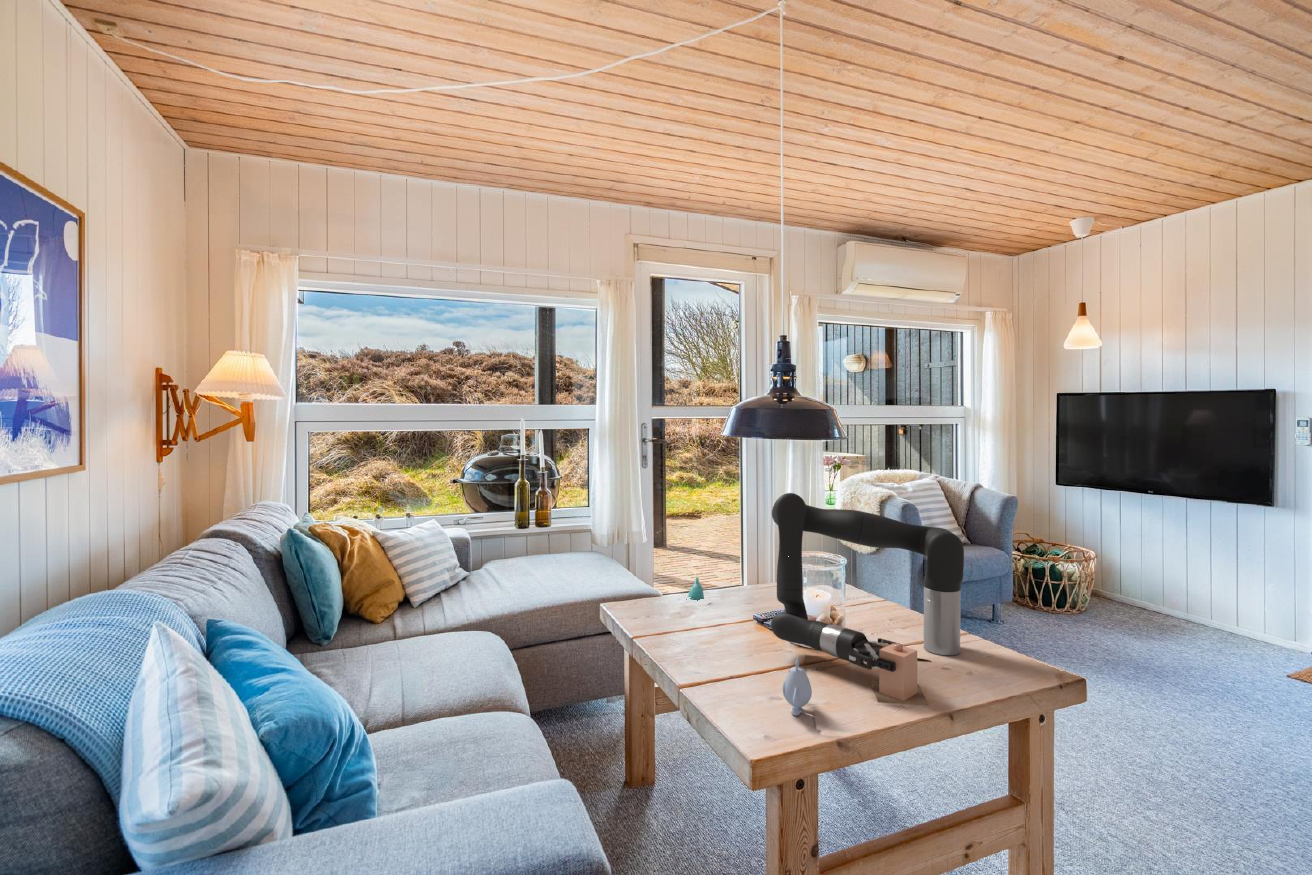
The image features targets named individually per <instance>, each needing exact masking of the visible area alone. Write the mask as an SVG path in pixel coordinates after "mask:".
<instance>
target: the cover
mask: <svg viewBox="0 0 1312 875" xmlns="http://www.w3.org/2000/svg"><path fill="white" fill-rule="evenodd" d="M880 657H881V658H884V659H887V660H891V661H894V662H895V663H896V671H894V672H891V671H888V670H885V669H882V668H878V669H879V674H878V675H879V676H878V678H879V679H878V680H879V681H878V682H879V692H881V693H883V694H886V695H889V696H891V697H894V698H897V699H900V700H902V701H904V700H906V699H908V698H910V697H911V696H913V695H915V694H916V693H917V684H918V661H917V658H918V650H917V649H913V648H911V647H906V646H904V645H903V644H901V643H900V644H899V642H896V643H895V644H894V643H893V644H891V645H888V646H886V647H884V648H882V649H880V650H879V658H880Z"/></svg>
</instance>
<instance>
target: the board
mask: <svg viewBox="0 0 1312 875" xmlns="http://www.w3.org/2000/svg"><path fill="white" fill-rule="evenodd" d="M869 682H870V684H871V687H872V690H873V693H874V695H875V698H876V701H877V703H883V704H884V703H888V704H902V705H915V706H916V705H918V706H931V705H930V703H929V700H928V699H927V698H926V696H925V694H924V692H923V690H922V689H921V686H920V685H919V684H918V683H917V693H916V694H915V695H913V696H911V697H910V698H908V699H906V700H904V701H902V700H900V699H897V698H894V697H891V696H889V695H886V694H883V693H881V692H879V681H875V680H874V681H873V680H871V681H869Z"/></svg>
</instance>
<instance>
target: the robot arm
mask: <svg viewBox="0 0 1312 875" xmlns="http://www.w3.org/2000/svg"><path fill="white" fill-rule="evenodd" d="M771 517H772V520H773V522H774V523H775V524H776V525H777V527H778V529H777V530H778V538H779V539H778V542H779V543H778V557H777V565H776V566H777V567H776V598H777V601H778V602H779V603H781V604H783V606H784V610H785V611H782V612H778V613H776V614H775V615H774V616H773V617H772V619H771V621H770V628H771V631H772V633H773V634H774V636H775V637H777V639H780V640H782V641H785V642H789V643H793V644H798V645H804V646H807V647H809V648H812V649H814V650H817V651H820V652H823V653H826V654H828V655H830V656H832V657H835V658H836V659H837V658H838V659H841V660H844V661H847V662H848V663H849V664H852V665H855V666H858V667H860V668H864V669H866V670H873V669H879V668H882V669H885V670H888V671H891V672H894V671H896V663H895V662H894V661H891V660H887V659H884V658H881V657H880V658H879V650H880V649H882V648H884V647H886V646H888V645H891V644H893V643H894V644H895V643H897V642H896V641H891V640H887V639H884V638H880V637H879V638H877V641H876V640H871V641H869V640H868V638H867V636H866V635H865V633H864V632H860V631H858V630H854V629H851V628H848V627H845V626H841V625H837V624H836V625H835V624H830V623H826V622H823V621H819V620H812V619H809V616H808V612H807V608H806V604H805V600H804V592H803V591H804V588H803V587H804V581H803V580H804V579H803V578H804V577H803V576H804V575H803V574H804V573H803V537H804V536H803V534H804V532H807V533H814V534H819V535H823V536H827V537H830V538H832V539H833V538H834V539H836V540H837V539H838V540H839V541H845V542H848V543H852V544H856V545H859V546H864V547H870V548H876V549H877V548H878V549H900V550H906V551H910V552H913V553H917V554H920V555H922V556H925V557H926V558H927V559H926V562H927V563H926V564H927V565H926V574H925V575H924V577H923V649H925V651H927V652H929V653H932V654H935V655H941V656H956V655H959V654H960V652H961V613H962V612H961V608H962V607H961V606H962V605H961V602H962V601H961V599H962V598H961V597H962V596H961V587H962V586H961V585H962V582H963V579H964V564H965V550H964V549H965V548H964V544H963V541H962V539H961V538H959V536H958V535H956V534H955V533H953V532H952V531H950V530H948V529H947V528H943V527H936V526H925V525H917V524H911V523H905V522H902V521H899V520H896V519H894V518H889V517H886V516H883V515H878V514H874V513H871V512H865V511H862V510H856V509H841V508H840V509H838V508H837V509H836V508H835V509H830V508H829V509H828V508H827V509H826V508H820V507H815V506H811V505H808V504H806V502H805V500H804V499H803V498H802V497H801V496H800V495H799V494H796V493H794V492H787V493H784V494H782V495H780V496H779V497H778V498H777V499H776V500H775V502H774V504H773V506H772V509H771ZM788 556H789V557H788ZM898 643H899V642H898ZM899 644H901V643H899Z"/></svg>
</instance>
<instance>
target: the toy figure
mask: <svg viewBox="0 0 1312 875" xmlns="http://www.w3.org/2000/svg"><path fill="white" fill-rule="evenodd" d="M799 658H800V656H797V657H796V660H795V666H793V667H791V668H790V669H789V670H788V673H787V674H786V676H785V679H784V681H783V684H782V694H783V697H784V699H785V700H786V702H787V703H788V704H789V705H791V706H792V709H791V711H790V714H791V715H792V716H797V717H798V716H800V714H801V712H802V711H801V710H802V707H805V706H806V705H807V704H808V703H809V702H810V700H811V698H812V693H813V691H812V686H811V682H810V678H809V677H808V675H807V673H806V671H805V670H804V668H803V667H802V666H801V667H800V659H799Z"/></svg>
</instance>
